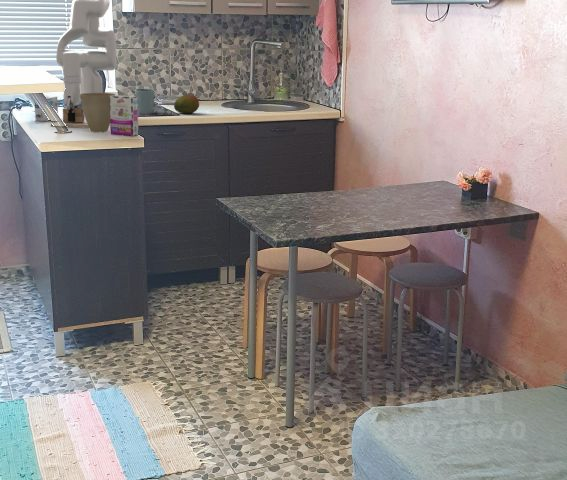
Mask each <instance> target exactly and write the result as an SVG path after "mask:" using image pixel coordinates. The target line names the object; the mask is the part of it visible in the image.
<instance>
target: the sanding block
mask: <svg viewBox="0 0 567 480" xmlns="http://www.w3.org/2000/svg"><path fill="white" fill-rule="evenodd" d="M67 110H68V109H67V107H64V108H62V120H63V122H69V121H68V112H67ZM74 113H75V122H70V123H82V122H84V121H85V116H84V112H83V108H82V107H79V108H74Z"/></svg>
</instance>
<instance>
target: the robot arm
mask: <svg viewBox="0 0 567 480" xmlns="http://www.w3.org/2000/svg"><path fill="white" fill-rule="evenodd" d="M110 1H111V0H72V3H71V12H70V19H69V20H70V21H69V28H68V29H67V30H66V31H65V32H64V33H63V34H62V35H61V36H60V38H59V40H58V42H57V47H56V62H57V65H58V66H59V67H62V68H63V84H64V85H65V88H66V89H65V91H64V90H63V105H64V106H65V107H66V108H67V109H68V110H67V112H68V121H69V122H75V113H74V108H80V104H82V103H81V98H80V94H81V86H80V85H81V84H82V94H83V93H104V92H103V85H104V84H103V78H102V76H101V74H100V73H99V72H98V71H114V70H116V68H117V64H118V63H117V59H118V58H117V41H116V40H117V39H116V34H115V31H114V29H112V28H109V27H100V19H101V18H103V17H104V15H106V13H107V11H108V9H109V8H110ZM80 38H81V40H82V44H83V45H84V47H88V48H98V49H87V50H74V49H72V50H71V49H66V48H67V46H68V45H69V44H70V43H72V42H73V41H75V40H78V39H80ZM100 48H101V49H105V50H100ZM84 117H85V115H84Z"/></svg>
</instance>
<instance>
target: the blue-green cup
mask: <svg viewBox="0 0 567 480" xmlns="http://www.w3.org/2000/svg"><path fill="white" fill-rule="evenodd" d="M155 90H156V89H153V88H135V89H134V92H135V95H134V97H138V114H139V115H140V114H143V115H146V114H147V115H149V114H153V113H154V107H155V106H154V102H155Z"/></svg>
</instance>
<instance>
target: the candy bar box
mask: <svg viewBox="0 0 567 480" xmlns="http://www.w3.org/2000/svg"><path fill="white" fill-rule="evenodd" d="M109 130H110V135H113V136H122V135H123V136H125V137H137V136H139V113H138V97H135V95H134V96H133V95H116V94H115V95H113V96H110V126H109Z"/></svg>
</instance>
